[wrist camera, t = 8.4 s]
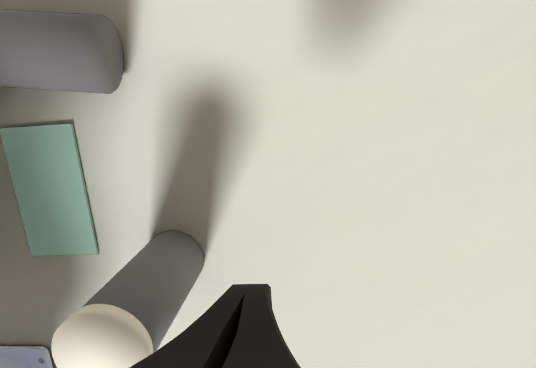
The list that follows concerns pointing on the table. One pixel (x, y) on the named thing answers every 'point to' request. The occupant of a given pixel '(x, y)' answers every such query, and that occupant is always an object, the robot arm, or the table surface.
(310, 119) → the table surface
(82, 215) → the pad
